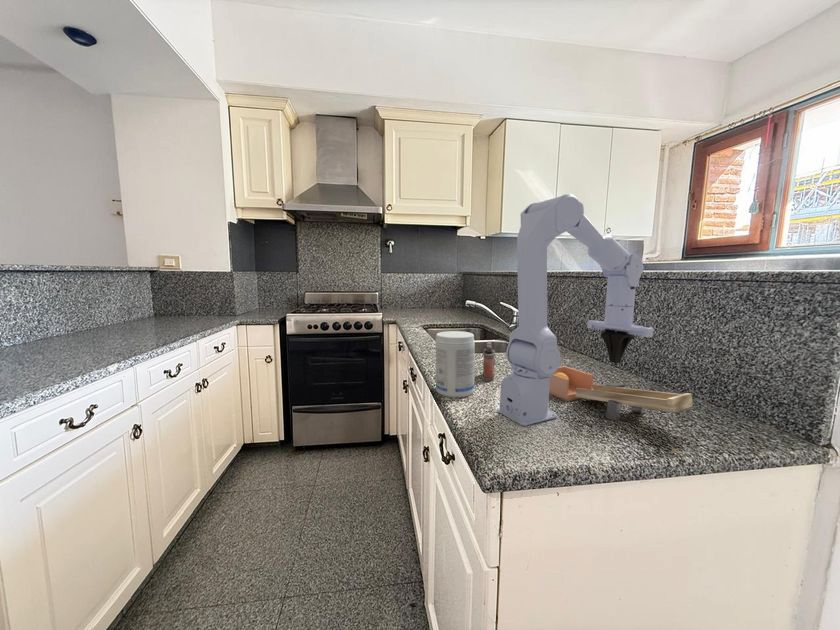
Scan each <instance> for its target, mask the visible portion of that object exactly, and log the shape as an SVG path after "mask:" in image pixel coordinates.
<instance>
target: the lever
mask: <svg viewBox="0 0 840 630" xmlns="http://www.w3.org/2000/svg"><path fill="white" fill-rule="evenodd" d="M575 397H580V398H581V399H587V400H593V401H600V402H605V403H608V400H614V401H617V402H620V403H621V405H626V406H631V407H632V406H637V407H643V408H645V409H650V410H655V411H656V410H657V411H663V412H668V413H676V412H680V411H683V410H686V409H689V408H692V407H694V404H693V396H692V393H689V392H688V393H687V392H686V393H682V394H681V393H673V392H667V391H666V392H664V391H658V390H657V391H656V390H655V391H654V390H649V389H648V390H646V389H638V388H629V387H628V388H627V387H626V384H625V383H614V382H613V383H608V384H605V385H603V384H602V385H601V384H594V383H593V389H592V390H590V389H582V388H576V393H575Z"/></svg>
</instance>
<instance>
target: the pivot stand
mask: <svg viewBox="0 0 840 630" xmlns="http://www.w3.org/2000/svg"><path fill="white" fill-rule="evenodd" d="M606 407H607V409H606V418H607V419H609V420H611V421H614V422H618V421H621V410H622V409H621V408H622V404H621V403H620V402H617V401H614V400H608V402H607V405H606ZM631 411H633V412H635V413H638V414H641V415H642V414H645V412H646V408H643V407H637V406H631Z"/></svg>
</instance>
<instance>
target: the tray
mask: <svg viewBox="0 0 840 630" xmlns="http://www.w3.org/2000/svg"><path fill="white" fill-rule="evenodd" d="M556 373H564V374H566V375H567V377H568V378H569V379H566V378H563V377H560V376H557V375H554V374H556ZM554 374H553V376H551V377H550V386H549V395H551V396H553V397H557V398H558V399H561V400H564V401H566V402H571V401H572V402H573V401H576V400H580V399H581V400H582V398H580V397H575V393H576V388H582V389H590V390H592V389H593V385H594V375H595V374H592V373H589V372H585V371H582V370H579V369H576V368H572V367H568V366H565V365H562V366H559V367H558V369H557V371H556V372H555V373H554Z"/></svg>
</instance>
